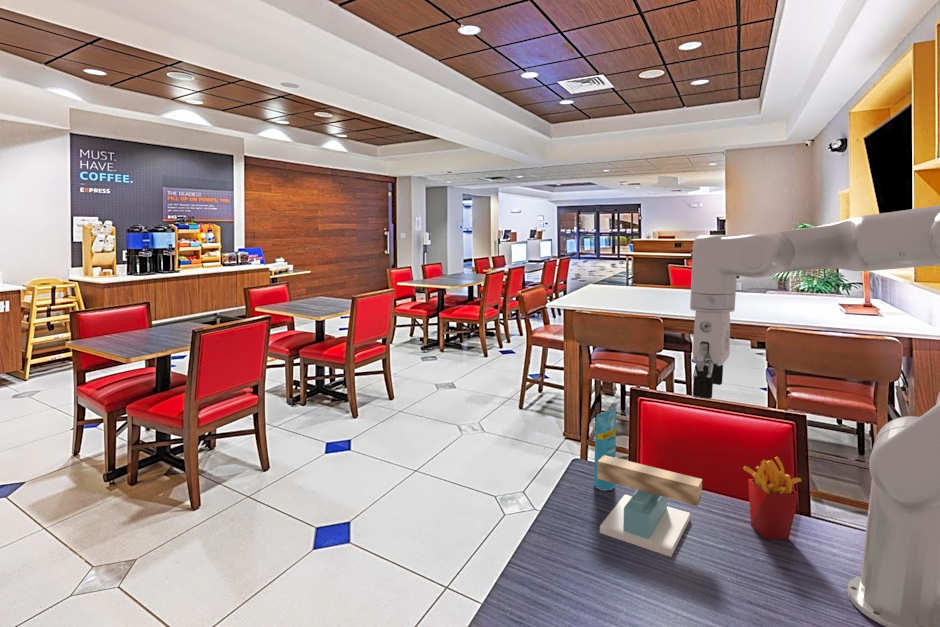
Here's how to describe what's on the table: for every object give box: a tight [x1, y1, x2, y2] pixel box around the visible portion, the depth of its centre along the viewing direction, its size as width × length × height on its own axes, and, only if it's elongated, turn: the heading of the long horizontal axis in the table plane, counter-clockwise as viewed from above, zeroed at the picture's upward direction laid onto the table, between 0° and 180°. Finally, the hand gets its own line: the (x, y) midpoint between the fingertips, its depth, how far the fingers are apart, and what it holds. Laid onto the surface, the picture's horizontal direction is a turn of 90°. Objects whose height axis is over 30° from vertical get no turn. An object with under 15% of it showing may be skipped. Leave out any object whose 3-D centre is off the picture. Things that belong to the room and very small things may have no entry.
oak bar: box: [597, 455, 703, 507], centre depth 103 cm, size 20×4×4 cm, turn 54°
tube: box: [593, 406, 617, 490], centre depth 120 cm, size 7×5×19 cm, turn 134°
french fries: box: [743, 456, 802, 540], centre depth 102 cm, size 9×8×15 cm
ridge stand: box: [599, 489, 691, 558], centre depth 104 cm, size 14×15×8 cm
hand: (707, 390), depth 97 cm, fingers open, 9 cm apart
